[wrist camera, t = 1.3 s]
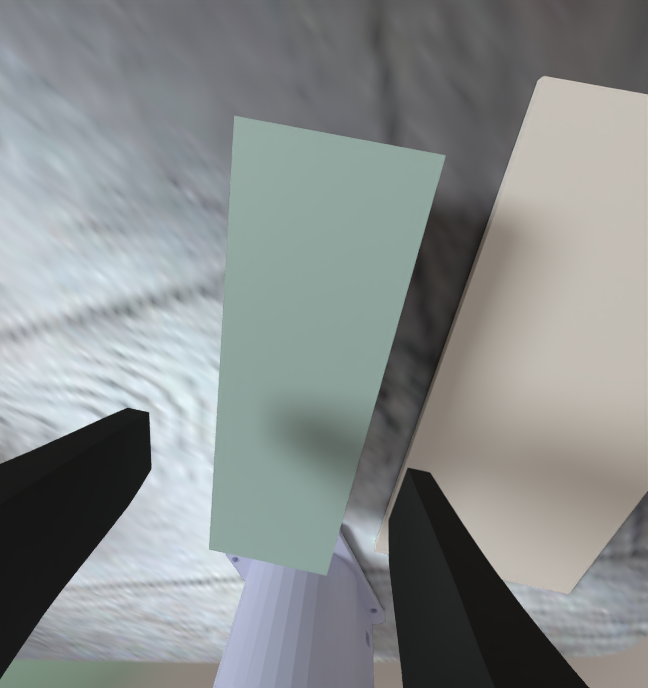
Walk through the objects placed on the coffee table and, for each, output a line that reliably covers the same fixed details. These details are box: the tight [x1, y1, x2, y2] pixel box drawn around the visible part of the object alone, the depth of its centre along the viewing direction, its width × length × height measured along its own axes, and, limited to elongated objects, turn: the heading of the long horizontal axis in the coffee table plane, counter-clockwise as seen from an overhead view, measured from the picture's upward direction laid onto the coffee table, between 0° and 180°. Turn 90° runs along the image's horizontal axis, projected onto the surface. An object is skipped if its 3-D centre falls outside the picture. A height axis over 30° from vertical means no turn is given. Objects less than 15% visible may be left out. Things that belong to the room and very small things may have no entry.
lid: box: [209, 116, 446, 576], centre depth 13 cm, size 17×6×2 cm, turn 170°
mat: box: [374, 76, 648, 594], centre depth 16 cm, size 24×12×1 cm, turn 170°
